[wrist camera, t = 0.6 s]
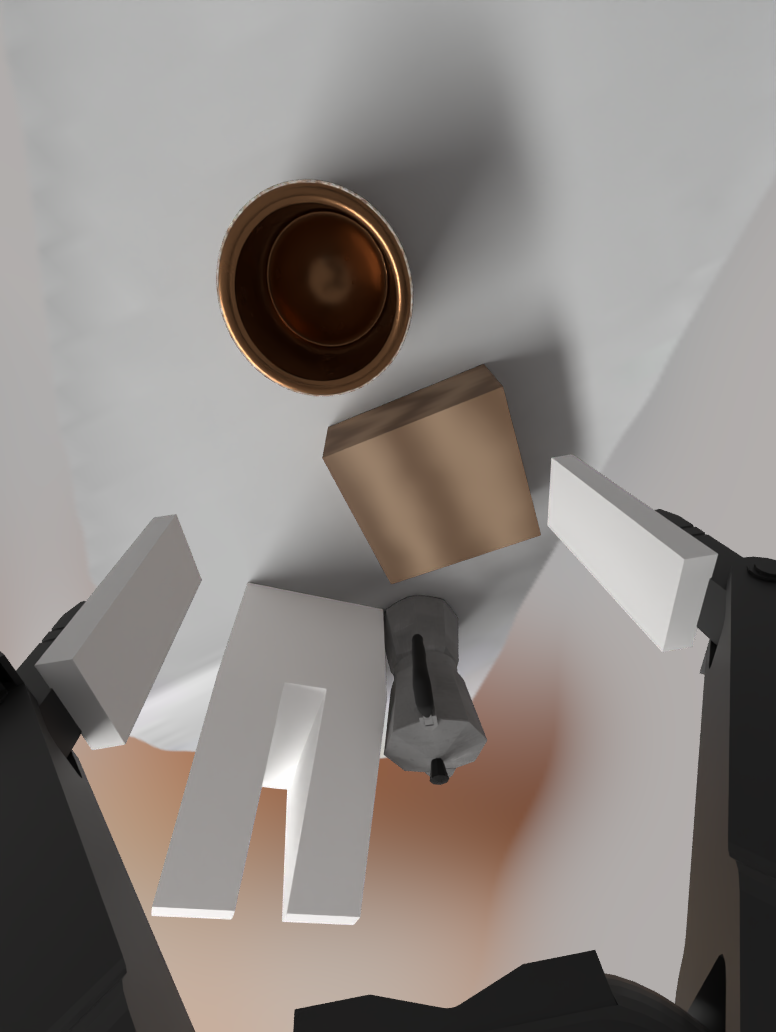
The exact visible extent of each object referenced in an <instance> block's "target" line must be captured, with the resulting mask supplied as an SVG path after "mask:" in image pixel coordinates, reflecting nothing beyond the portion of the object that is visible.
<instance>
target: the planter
mask: <svg viewBox="0 0 776 1032" xmlns="http://www.w3.org/2000/svg"><path fill="white" fill-rule="evenodd" d="M216 285H217V295H218V301H219V306H220V310H221V314H222V317H223V320H224V323H225V325H226V327H227V330H228V332H229V334H230V336H231V338H232V340H233V341H234V343H235V345H236V346H237V348H238V349H239V350H240V352H241V353H242V354H243V356H244V357H245V358H246V359H247V361H248V362H249V363H250V364H251V365H252V366H253V367H254V368H255V369H256V370H257V371H259V372H260V373H261V374H262V375H264V376H265V377H266V378H268V379H269V380H271V381H272V382H274V383H276V384H278V385H279V386H281V387H283V388H286V389H288V390H291V391H294V392H297V393H300V394H305V395H310V396H322V397H323V396H336V395H342V394H346V393H349V392H352V391H355V390H357V389H359V388H362V387H363V386H365V385H367V384H369V383H370V382H372V381H373V380H375V379H376V378H377V377H378V376H380V375H381V374H382V373H383V372H384V371H385V370H386V369H387V368H388V367H389V365H390V364H391V363H392V362H393V360H394V359H395V357H396V356H397V354H398V353H399V351H400V349H401V347H402V345H403V343H404V341H405V338H406V336H407V333H408V330H409V326H410V322H411V317H412V310H413V284H412V277H411V272H410V267H409V264H408V260H407V257H406V254H405V251H404V249H403V247H402V245H401V243H400V241H399V239H398V237H397V235H396V233H395V232H394V230H393V229H392V227H391V226H390V224H389V223H388V222H387V220H386V219H385V218H384V217H383V216H382V214H381V213H380V212H379V211H378V210H377V209H376V208H375V207H374V206H373V205H371V204H370V203H369V202H368V201H367V200H365V199H364V198H362V197H361V196H360V195H358V194H356V193H354V192H353V191H351V190H349V189H347V188H345V187H342V186H340V185H337V184H334V183H331V182H327V181H321V180H313V179H300V180H292V181H287V182H283V183H280V184H277V185H274V186H272V187H270V188H267V189H266V190H264V191H262V192H260V193H259V194H257V195H256V196H255V197H253V198H252V199H251V200H250V201H249V202H248V203H246V204H245V206H244V207H243V208H242V209H241V210H240V211H239V212H238V214H237V215H236V216H235V218H234V219H233V221H232V222H231V224H230V226H229V228H228V230H227V232H226V234H225V236H224V239H223V241H222V245H221V248H220V252H219V256H218V262H217V272H216Z"/></svg>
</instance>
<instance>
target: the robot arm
mask: <svg viewBox="0 0 776 1032" xmlns="http://www.w3.org/2000/svg"><path fill="white" fill-rule="evenodd" d="M548 527H549V528H550V529H551V530H552V531H553V532H554V533H555V534H556V535H557V537H558V538H559V539H560V540H561V541H562V542H563V543H564V544H565V545H566V546H567V547H568V549H569V550H570V551H571V552H572V553H573V554H574V555H575V556H576V557H577V559H578V560H579V561H580V562H581V563H582V564H583V565H584V566H585V567H586V568H587V569H588V571H589V572H590V573H591V574H592V575H593V576H594V577H595V578H596V579H597V580H598V582H599V583H600V584H601V585H602V586H603V587H604V588H605V589H606V591H607V592H608V593H609V594H610V595H611V596H612V597H613V598H614V599H615V600H616V602H617V603H618V604H619V605H620V606H621V607H622V608H623V609H624V610H625V611H626V613H627V614H628V615H629V616H630V617H631V618H632V619H633V620H634V621H635V622H636V624H637V625H638V626H639V627H640V628H641V629H642V630H643V631H644V632H645V634H646V635H647V636H648V637H649V638H650V639H651V640H652V641H653V642H654V643H655V645H657V647H658V648H659V649H660V650H661V651H662V652H667V651H673V650H679V649H684V648H690V647H692V646H693V642H694V639H695V636H696V632H697V628H699V629H700V630H701V631H702V632H703V633H704V634H705V635H706V636H707V637H708V638H709V639H710V640H709V643H708V647H707V650H706V654H705V657H704V660H703V664H702V667H701V670H700V673H701V674H704V675H705V677H704V691H703V706H702V719H701V733H700V748H699V761H698V775H697V790H696V804H695V817H694V830H693V846H692V859H691V872H690V886H689V887H690V888H689V900H688V914H687V928H686V939H685V948H684V954H683V959H682V964H681V968H680V973H679V978H678V985H677V991H676V999H675V1004H674V1003H673V1002H671V1001H669V1000H668V999H666V998H665V997H663V996H662V995H660V994H658V993H657V992H655V991H652V990H650V989H648V988H646V987H644V986H642V985H640V984H638V983H636V982H633V981H630V980H627V979H624V978H621V977H618V976H615V975H610V974H605V973H604V971H603V969H602V966H601V964H600V961H599V959H598V956H597V953H596V951H595V950H592V951H587V952H582V953H578V954H572V955H567V956H562V957H557V958H552V959H547V960H542V961H537V962H532V963H527V964H523V965H521V966H520V967H518V968H516V969H515V970H513V971H512V972H510V973H509V974H507V975H505V976H504V977H502V978H501V979H499V980H498V981H496V982H494V983H493V984H491V985H490V986H488V987H487V988H485V989H483V990H482V991H480V992H479V993H477V994H476V995H474V996H473V997H471V998H469V999H468V1000H466V1001H465V1002H463V1003H462V1004H460V1005H458V1006H456V1007H453V1008H440V1007H435V1006H429V1005H423V1004H418V1003H413V1002H407V1001H402V1000H396V999H391V998H385V997H380V996H375V995H365V996H361V997H355V998H350V999H345V1000H340V1001H335V1002H330V1003H325V1004H320V1005H315V1006H310V1007H305V1008H300V1009H295V1013H294V1031H293V1032H776V560H773V559H769V558H761V557H746V558H743V557H741V556H740V555H738V554H737V553H735V552H734V551H732V550H730V549H729V548H728V547H726V546H725V545H723V544H721V543H720V542H718V541H717V540H715V539H714V538H712V537H711V536H709V535H705V532H703V531H702V530H700V529H698V528H697V527H693V525H692V524H691V523H689V522H688V521H686V520H684V519H683V518H682V517H680V516H678V515H675V514H672V513H670V512H667V511H664V510H661V509H658V510H653V509H652V508H650V507H649V506H647V505H646V504H644V503H643V502H642V501H640V500H638V499H637V498H636V497H634V496H633V495H631V494H630V493H628V492H627V491H625V490H624V489H623V488H621V487H620V486H618V485H617V484H615V483H614V482H612V481H611V480H609V479H608V478H607V477H605V476H603V475H602V474H601V473H599V472H598V471H596V470H595V469H593V468H592V467H591V466H589V465H588V464H586V463H585V462H583V461H582V460H580V459H579V458H577V457H576V456H574V455H573V454H571V455H565V456H558V457H552V458H551V475H550V492H549V508H548ZM201 581H202V579H201V577H200V574H199V572H198V569H197V566H196V564H195V561H194V559H193V556H192V553H191V551H190V548H189V546H188V543H187V541H186V538H185V535H184V533H183V530H182V528H181V525H180V522H179V520H178V517H177V515H176V514H175V515H168V516H162V517H155V518H153V519H152V520H151V522H150V523H149V524H148V525H147V526H146V528H145V529H144V530H143V531H142V533H141V534H140V535H139V536H138V538H137V539H136V540H135V541H134V543H133V544H132V545H131V546H130V548H129V549H128V550H127V551H126V552H125V554H124V555H123V556H122V557H121V559H120V560H119V561H118V562H117V564H116V565H115V566H114V567H113V569H112V570H111V571H110V572H109V574H108V575H107V576H106V577H105V579H104V580H103V581H102V582H101V583H100V585H99V586H98V587H97V588H96V590H95V591H94V592H93V593H92V595H91V596H90V597H89V598H88V600H87V601H83V602H80V603H79V604H77V605H76V606H75V607H73V608H72V609H71V610H69V611H68V612H67V613H65V614H64V615H63V616H62V617H61V618H60V619H59V621H58V622H57V623H56V624H55V625H54V627H53V628H52V631H51V632H49V633H48V634H47V635H46V636H45V637H44V639H43V640H42V643H39V645H38V646H37V647H36V648H35V649H34V650H33V652H32V653H31V654H30V655H29V656H28V657H27V659H26V660H25V661H24V662H23V663H22V665H21V666H20V667H19V668H18V669H17V670H16V671H15V669H14V668H13V667H12V665H11V664H10V662H9V661H8V659H7V658H6V657H5V655H4V654H3V653H1V652H0V1032H195V1030H194V1028H193V1026H192V1023H191V1021H190V1019H189V1016H188V1014H187V1012H186V1009H185V1007H184V1005H183V1002H182V1000H181V998H180V995H179V993H178V990H177V988H176V986H175V984H174V981H173V979H172V976H171V974H170V972H169V969H168V967H167V965H166V963H165V960H164V958H163V955H162V953H161V951H160V948H159V946H158V944H157V941H156V939H155V937H154V935H153V932H152V930H151V927H150V925H149V923H148V920H147V918H146V916H145V913H144V911H143V909H142V906H141V904H140V901H139V899H138V897H137V894H136V892H135V890H134V887H133V885H132V883H131V880H130V878H129V876H128V873H127V871H126V869H125V866H124V864H123V862H122V859H121V857H120V855H119V852H118V850H117V848H116V845H115V843H114V841H113V838H112V836H111V834H110V831H109V829H108V827H107V824H106V822H105V820H104V817H103V815H102V812H101V810H100V808H99V805H98V803H97V801H96V798H95V796H94V794H93V791H92V789H91V787H90V785H89V782H88V780H87V778H86V775H85V773H84V770H83V768H82V766H81V763H80V761H79V759H78V757H77V756H76V754H75V753H74V752H73V750H72V748H73V746H74V745H75V743H76V741H77V740H78V738H79V736H80V734H82V736H83V737H84V738H85V740H86V742H87V743H88V745H89V746H90V748H91V749H92V750H95V749H101V748H106V747H113V746H118V745H124V744H126V742H127V739H128V737H129V735H130V733H131V731H132V729H133V727H134V724H135V722H136V720H137V718H138V716H139V714H140V712H141V709H142V707H143V705H144V703H145V701H146V699H147V697H148V694H149V692H150V690H151V688H152V686H153V684H154V682H155V679H156V677H157V675H158V673H159V671H160V669H161V666H162V664H163V662H164V660H165V658H166V656H167V654H168V651H169V649H170V647H171V645H172V643H173V641H174V639H175V636H176V634H177V632H178V630H179V628H180V626H181V624H182V621H183V619H184V617H185V615H186V613H187V611H188V608H189V606H190V604H191V602H192V600H193V598H194V596H195V593H196V591H197V589H198V587H199V585H200V583H201Z"/></svg>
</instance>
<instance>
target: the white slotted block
mask: <svg viewBox="0 0 776 1032" xmlns="http://www.w3.org/2000/svg"><path fill="white" fill-rule="evenodd" d="M386 702H387V689H386V666H385V643H384V620H383V609H379V608H374V607H369V606H364V605H359V604H354V603H349V602H344V601H339V600H334V599H329V598H324V597H319V596H314V595H309V594H304V593H299V592H294V591H289V590H284V589H279V588H274V587H268V586H263V585H258V584H253V583H247V586H246V589H245V592H244V595H243V598H242V601H241V604H240V607H239V610H238V613H237V616H236V619H235V622H234V625H233V628H232V631H231V634H230V637H229V640H228V643H227V646H226V649H225V652H224V655H223V659H222V662H221V665H220V668H219V671H218V674H217V677H216V681H215V685H214V688H213V692H212V695H211V699H210V702H209V706H208V710H207V713H206V717H205V720H204V724H203V727H202V731H201V735H200V738H199V742H198V745H197V749H196V752H195V756H194V760H193V763H192V767H191V770H190V774H189V778H188V781H187V785H186V788H185V792H184V795H183V799H182V802H181V806H180V809H179V813H178V817H177V820H176V824H175V828H174V831H173V835H172V838H171V842H170V845H169V849H168V853H167V856H166V859H165V863H164V867H163V871H162V874H161V878H160V881H159V884H158V888H157V892H156V895H155V899H154V902H153V906H152V916H170V917H191V918H193V917H194V918H213V919H214V918H215V919H232V917H233V914H234V911H235V908H236V903H237V898H238V894H239V889H240V884H241V880H242V876H243V871H244V866H245V862H246V857H247V853H248V848H249V843H250V839H251V834H252V830H253V825H254V820H255V816H256V811H257V806H258V802H259V797H260V793H261V788H262V787H269V788H278V789H287V811H286V836H285V837H286V838H285V862H284V887H283V912H282V921H283V922H301V923H323V924H345V925H354V924H355V922H356V921H357V920H358V919H359V918H360V914H361V905H362V897H363V889H364V881H365V873H366V865H367V856H368V848H369V840H370V832H371V823H372V816H373V807H374V799H375V791H376V783H377V774H378V767H379V759H380V750H381V742H382V734H383V726H384V718H385V710H386Z"/></svg>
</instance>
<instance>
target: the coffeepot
mask: <svg viewBox="0 0 776 1032" xmlns="http://www.w3.org/2000/svg"><path fill="white" fill-rule="evenodd" d="M383 620H384V643H385V651H386V655H387V659H388V662H389V666H390V670H391V672H392V674H393V675H394V682H393V685H392V688H391V694H390V703H389V712H388V722H387V731H386V741H385V750H384V755H385V756H386V757H388V758H389V759H390V760H392V761H393V762H394V763H396V764H397V765H398V766H399V767H401V768H402V769H403V770H404V771H418V772H425V773H426V774H428V775H429V776H430V782H431V783H433V784H438V785H441V784H444V783H447V782H448V780H449V777H451V775H453V773H454V771H455V769H456V768H457V767H460V766H462V765H465V764H468V763H470V762H474V761H475V760H476V758H477V756H478V755H479V753H480V751H481V750H482V748H483V746H484V744H485V743H486V742H487V738H486V736H485V733H484V731H483V728H482V726H481V723H480V720H479V718H478V715H477V713H476V710H475V708H474V705H473V703H472V700H471V697H470V695H469V692H468V690H467V687H466V685H465V682H464V680H463V679H462V677H461V676H460V675H459V674H458V672H457V665H458V661H459V659H458V617H457V616H456V615H455V613H454V612H453V611H452V609H451V607H450V606H449V605H448V604H447V603H445V601H444V600H442V599H438V598H435V597H430V596H411V597H408V598H405V599H402V600H400V601H398V602H397V603H395V604H393V605H392V606H391V607H390V608H388V609H386V613H385V615H384V617H383Z"/></svg>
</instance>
